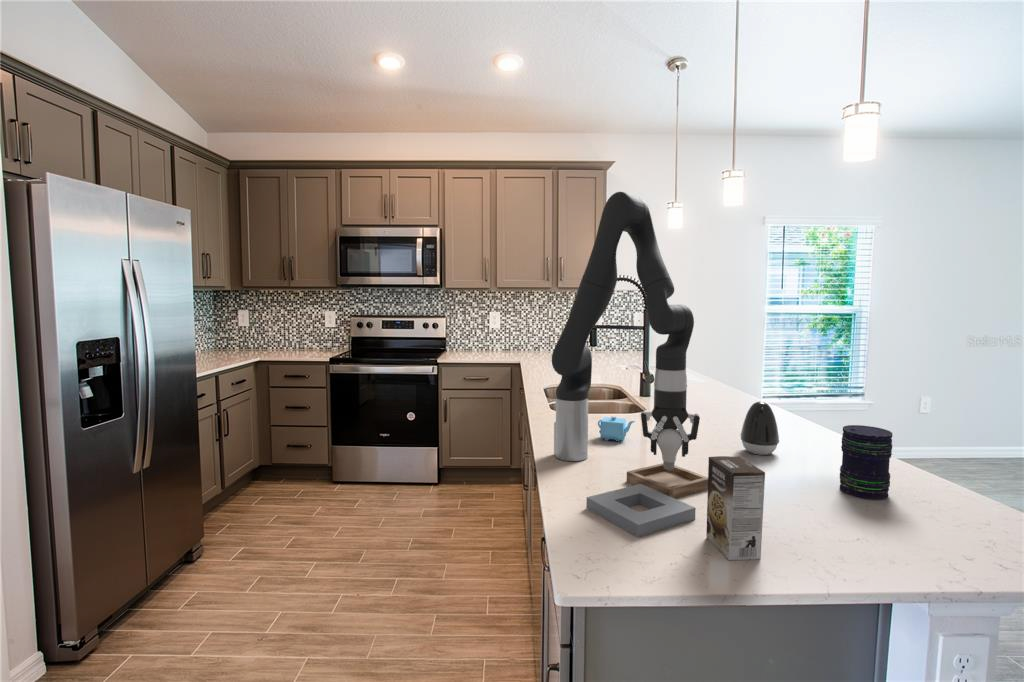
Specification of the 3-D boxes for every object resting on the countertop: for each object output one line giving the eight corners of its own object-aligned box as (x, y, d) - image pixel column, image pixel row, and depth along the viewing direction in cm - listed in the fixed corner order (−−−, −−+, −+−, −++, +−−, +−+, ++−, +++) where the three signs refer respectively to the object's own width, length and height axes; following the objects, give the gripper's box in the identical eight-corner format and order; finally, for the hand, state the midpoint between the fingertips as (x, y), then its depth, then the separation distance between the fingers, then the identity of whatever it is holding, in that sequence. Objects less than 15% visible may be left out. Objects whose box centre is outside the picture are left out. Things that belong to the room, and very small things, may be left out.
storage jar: (881, 487, 127) (885, 427, 126) (895, 502, 118) (900, 437, 116) (834, 482, 130) (837, 423, 129) (844, 497, 121) (848, 433, 120)
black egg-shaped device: (740, 455, 152) (742, 403, 151) (739, 445, 162) (741, 397, 160) (779, 459, 148) (782, 406, 147) (776, 449, 158) (778, 399, 157)
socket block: (586, 508, 115) (586, 497, 115) (640, 494, 123) (640, 483, 123) (638, 537, 102) (638, 524, 101) (695, 519, 110) (695, 507, 109)
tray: (626, 481, 132) (626, 471, 131) (666, 471, 139) (666, 462, 138) (669, 500, 120) (669, 489, 119) (710, 488, 127) (710, 478, 126)
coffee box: (704, 537, 101) (707, 456, 100) (736, 536, 102) (739, 455, 101) (727, 561, 92) (730, 472, 91) (762, 559, 93) (766, 471, 92)
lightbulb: (670, 477, 125) (671, 431, 124) (650, 470, 130) (651, 426, 129) (687, 472, 128) (688, 428, 127) (667, 465, 133) (667, 422, 132)
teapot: (636, 439, 170) (636, 416, 169) (633, 444, 164) (634, 420, 163) (599, 435, 174) (599, 413, 173) (595, 440, 168) (596, 417, 168)
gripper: (700, 385, 129) (698, 452, 130) (639, 383, 133) (639, 448, 134) (703, 391, 122) (701, 461, 123) (639, 389, 125) (638, 457, 127)
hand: (668, 454), depth 129 cm, fingers closed on lightbulb, 6 cm apart
